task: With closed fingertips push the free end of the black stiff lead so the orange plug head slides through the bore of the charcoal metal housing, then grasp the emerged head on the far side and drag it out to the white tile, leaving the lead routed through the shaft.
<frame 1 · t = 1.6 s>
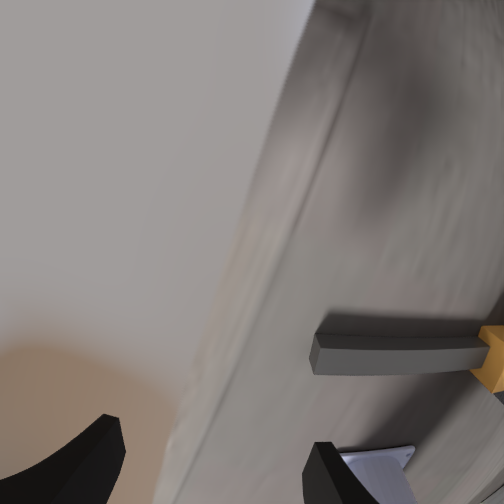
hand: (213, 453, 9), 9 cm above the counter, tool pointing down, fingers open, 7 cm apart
plug: (489, 345, 19), on the counter
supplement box: (497, 493, 27), on the counter
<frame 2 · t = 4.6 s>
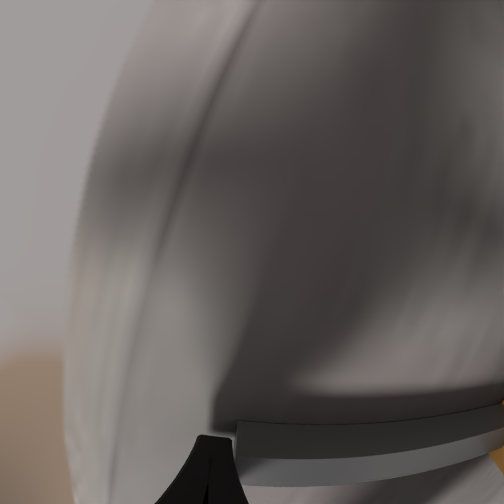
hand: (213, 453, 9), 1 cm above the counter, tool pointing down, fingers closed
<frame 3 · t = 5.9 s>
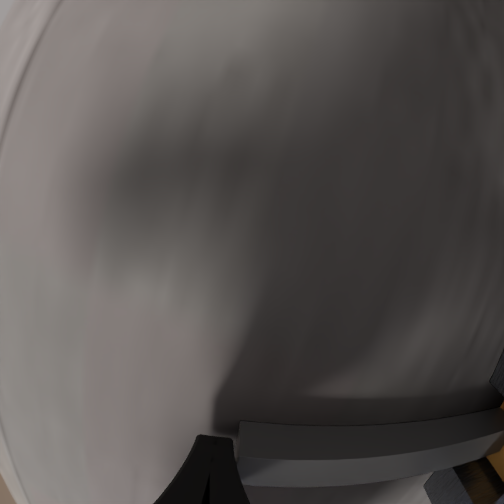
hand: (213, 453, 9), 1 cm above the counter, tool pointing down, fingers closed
housing: (497, 415, 11), on the counter
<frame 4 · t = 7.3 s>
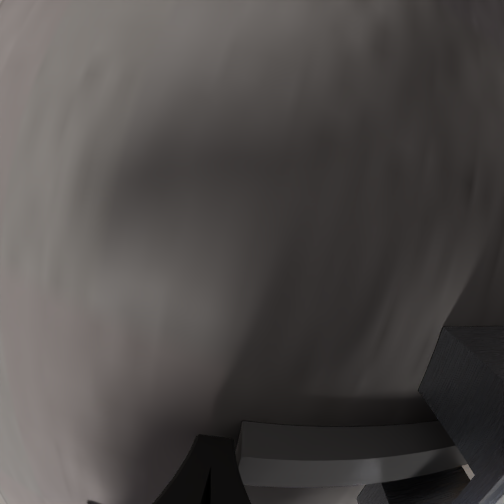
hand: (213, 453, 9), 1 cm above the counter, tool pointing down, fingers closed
housing: (439, 428, 11), on the counter
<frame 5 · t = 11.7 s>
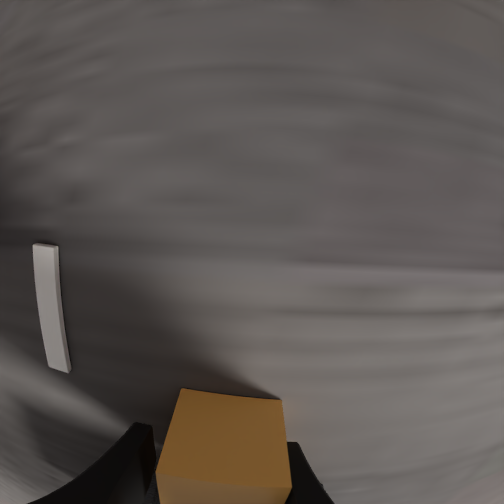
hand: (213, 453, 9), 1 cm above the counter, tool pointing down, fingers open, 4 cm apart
plug: (226, 431, 11), on the counter, touching gripper
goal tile: (52, 310, 10), on the counter
housing: (211, 503, 12), on the counter
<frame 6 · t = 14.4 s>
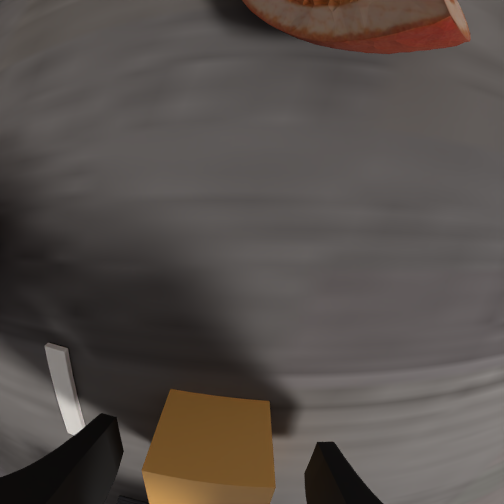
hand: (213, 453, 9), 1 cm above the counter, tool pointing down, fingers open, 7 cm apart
plug: (216, 431, 11), on the counter
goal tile: (68, 394, 10), on the counter
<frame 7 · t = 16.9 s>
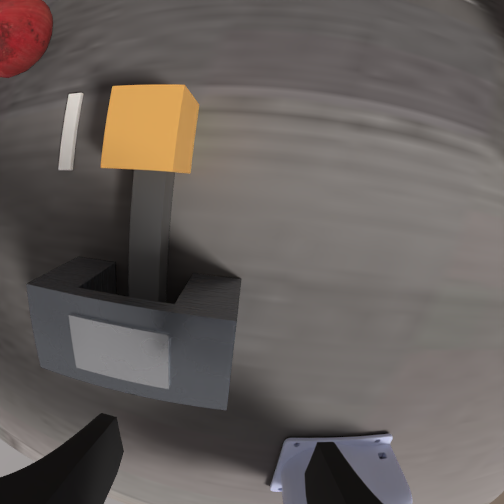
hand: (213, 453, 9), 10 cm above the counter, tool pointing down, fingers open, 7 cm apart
plug: (164, 136, 16), on the counter
onion: (42, 51, 15), on the counter
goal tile: (71, 131, 16), on the counter
housing: (152, 305, 19), on the counter
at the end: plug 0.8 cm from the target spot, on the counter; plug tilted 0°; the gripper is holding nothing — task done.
